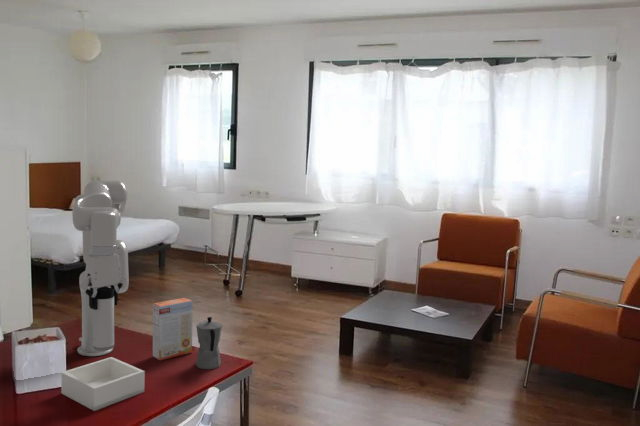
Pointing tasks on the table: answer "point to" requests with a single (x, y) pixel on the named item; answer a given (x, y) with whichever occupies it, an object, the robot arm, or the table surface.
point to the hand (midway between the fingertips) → (103, 306)
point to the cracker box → (172, 328)
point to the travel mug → (104, 320)
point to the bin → (102, 383)
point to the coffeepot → (208, 344)
